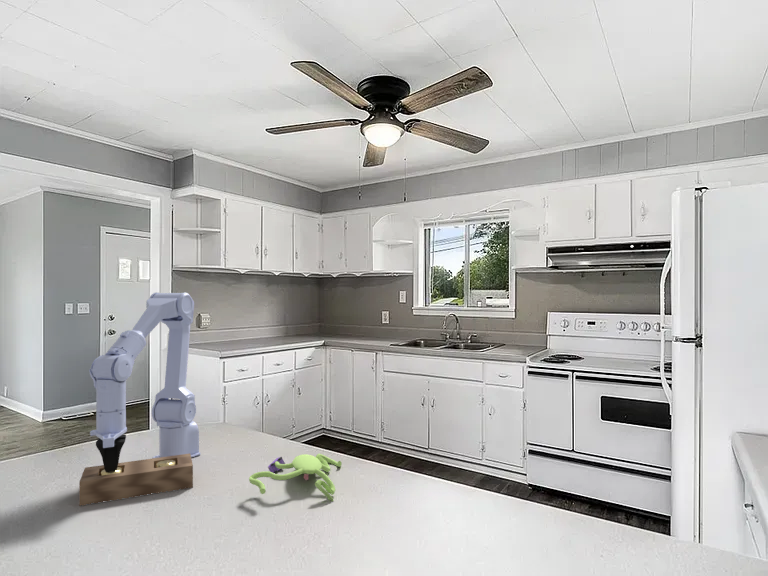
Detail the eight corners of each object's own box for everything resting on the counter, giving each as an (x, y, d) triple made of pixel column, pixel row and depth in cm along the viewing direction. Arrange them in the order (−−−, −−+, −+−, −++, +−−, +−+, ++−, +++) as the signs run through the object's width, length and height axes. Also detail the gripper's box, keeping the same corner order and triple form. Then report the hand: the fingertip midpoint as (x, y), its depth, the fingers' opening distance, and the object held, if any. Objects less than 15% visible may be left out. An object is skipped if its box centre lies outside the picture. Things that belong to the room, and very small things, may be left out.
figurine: (242, 509, 101) (242, 482, 101) (272, 463, 127) (272, 441, 127) (332, 509, 101) (332, 482, 101) (343, 463, 127) (343, 441, 127)
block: (190, 473, 119) (190, 453, 119) (192, 487, 111) (192, 465, 111) (85, 489, 110) (85, 467, 110) (79, 505, 102) (79, 481, 102)
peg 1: (122, 488, 111) (122, 466, 111) (121, 494, 107) (121, 472, 107) (101, 491, 109) (101, 468, 109) (100, 498, 105) (100, 475, 105)
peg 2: (175, 480, 115) (175, 458, 115) (175, 486, 112) (175, 464, 112) (156, 482, 114) (156, 461, 114) (156, 489, 110) (156, 467, 110)
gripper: (94, 404, 113) (94, 463, 113) (85, 419, 100) (85, 485, 100) (128, 401, 116) (128, 458, 116) (125, 415, 103) (125, 480, 103)
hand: (111, 471), depth 108 cm, fingers closed, pressing on peg 1
